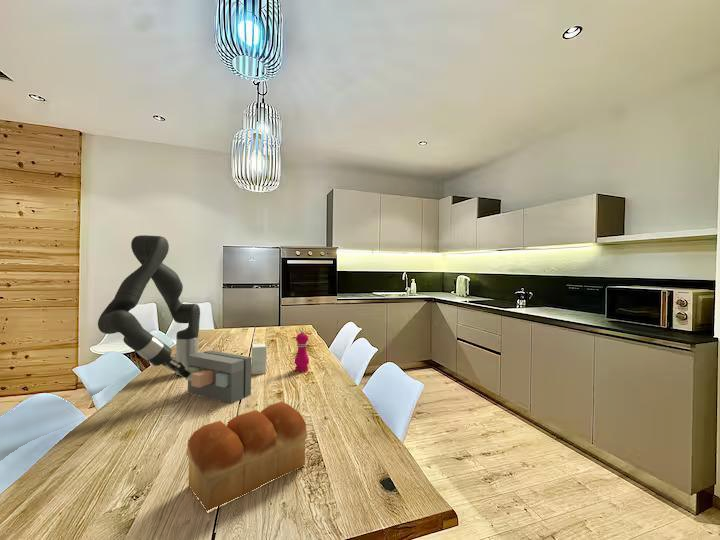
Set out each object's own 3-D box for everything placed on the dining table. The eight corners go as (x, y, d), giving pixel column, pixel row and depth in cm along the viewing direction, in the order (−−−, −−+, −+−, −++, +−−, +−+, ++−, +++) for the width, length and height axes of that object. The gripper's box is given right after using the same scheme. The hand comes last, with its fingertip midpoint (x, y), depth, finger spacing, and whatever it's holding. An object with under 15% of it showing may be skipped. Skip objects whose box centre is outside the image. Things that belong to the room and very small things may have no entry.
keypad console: (187, 392, 132) (188, 355, 132) (208, 384, 141) (209, 350, 141) (231, 403, 122) (231, 363, 122) (250, 394, 131) (251, 357, 131)
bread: (205, 516, 66) (206, 444, 66) (185, 487, 75) (186, 423, 75) (307, 466, 84) (307, 408, 84) (281, 446, 93) (282, 395, 93)
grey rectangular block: (215, 385, 123) (215, 373, 123) (232, 379, 130) (232, 368, 130) (224, 387, 121) (224, 375, 121) (240, 381, 128) (240, 369, 128)
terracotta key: (191, 385, 122) (191, 373, 122) (209, 379, 129) (209, 368, 129) (199, 387, 120) (199, 375, 120) (217, 381, 128) (217, 369, 128)
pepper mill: (310, 368, 167) (311, 329, 167) (306, 372, 160) (307, 331, 160) (296, 367, 167) (297, 328, 167) (292, 372, 160) (293, 331, 160)
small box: (266, 373, 157) (266, 346, 157) (252, 374, 155) (252, 347, 155) (264, 368, 165) (265, 343, 165) (251, 370, 163) (252, 343, 163)
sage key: (185, 379, 129) (185, 368, 129) (202, 373, 136) (203, 363, 136) (193, 381, 127) (193, 370, 127) (210, 375, 134) (210, 364, 134)
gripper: (170, 344, 116) (203, 370, 126) (153, 339, 123) (186, 364, 133) (153, 362, 111) (189, 388, 121) (137, 356, 119) (172, 380, 129)
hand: (187, 375), depth 127 cm, fingers closed
